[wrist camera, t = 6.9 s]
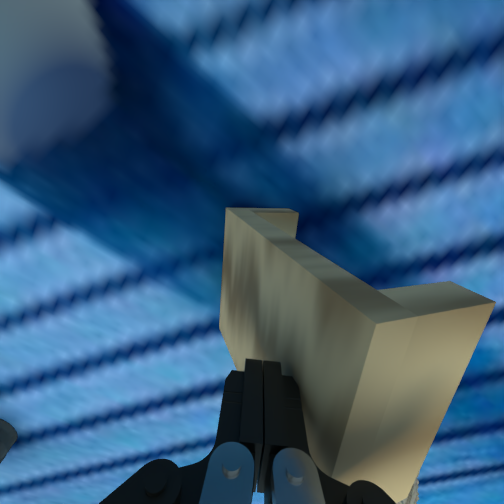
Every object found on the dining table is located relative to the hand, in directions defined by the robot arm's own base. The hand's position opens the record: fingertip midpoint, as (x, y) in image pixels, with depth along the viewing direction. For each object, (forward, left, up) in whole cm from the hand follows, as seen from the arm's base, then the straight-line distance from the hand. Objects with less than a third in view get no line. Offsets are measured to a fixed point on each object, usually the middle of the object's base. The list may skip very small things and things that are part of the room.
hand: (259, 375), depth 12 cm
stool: (0, -1, -11) cm, 11 cm away
